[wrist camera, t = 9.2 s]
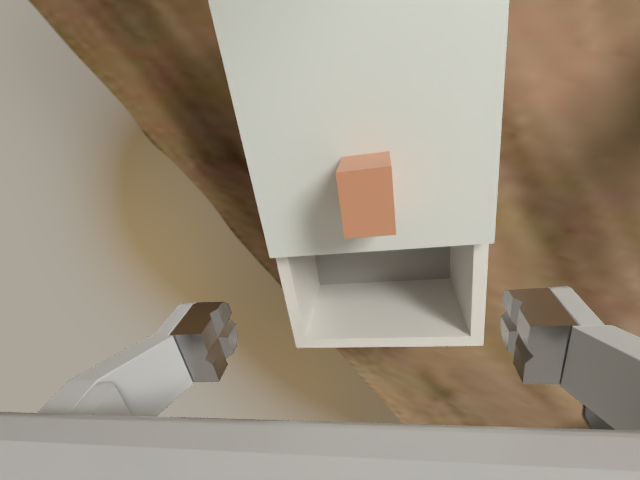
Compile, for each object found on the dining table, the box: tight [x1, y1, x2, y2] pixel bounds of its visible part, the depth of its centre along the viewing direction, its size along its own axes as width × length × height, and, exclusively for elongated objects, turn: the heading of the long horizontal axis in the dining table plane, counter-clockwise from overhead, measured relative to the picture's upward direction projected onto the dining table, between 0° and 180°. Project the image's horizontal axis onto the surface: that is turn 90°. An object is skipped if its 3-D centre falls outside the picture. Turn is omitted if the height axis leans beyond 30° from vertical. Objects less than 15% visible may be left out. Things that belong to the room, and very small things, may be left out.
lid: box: [208, 0, 509, 258], centre depth 19 cm, size 22×16×5 cm
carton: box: [276, 244, 489, 348], centre depth 30 cm, size 22×16×10 cm
